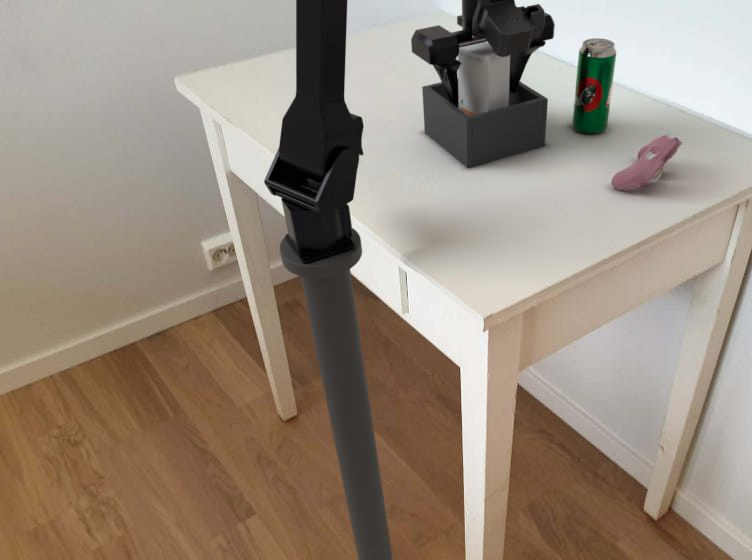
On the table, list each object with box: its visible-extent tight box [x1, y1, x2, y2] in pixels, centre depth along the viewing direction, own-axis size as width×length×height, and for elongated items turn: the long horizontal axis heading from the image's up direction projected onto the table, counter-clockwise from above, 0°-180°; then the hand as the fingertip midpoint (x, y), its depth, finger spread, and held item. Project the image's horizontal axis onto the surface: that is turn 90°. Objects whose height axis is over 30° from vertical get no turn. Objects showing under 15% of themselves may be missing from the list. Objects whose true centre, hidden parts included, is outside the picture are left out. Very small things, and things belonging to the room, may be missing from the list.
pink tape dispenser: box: [611, 132, 683, 191], centre depth 93 cm, size 10×5×7 cm, turn 147°
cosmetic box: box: [457, 42, 510, 116], centre depth 100 cm, size 6×4×12 cm
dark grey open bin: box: [421, 81, 549, 169], centre depth 102 cm, size 13×13×7 cm
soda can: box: [571, 37, 617, 135], centre depth 102 cm, size 5×5×12 cm
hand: (484, 99), depth 100 cm, fingers open, 9 cm apart
